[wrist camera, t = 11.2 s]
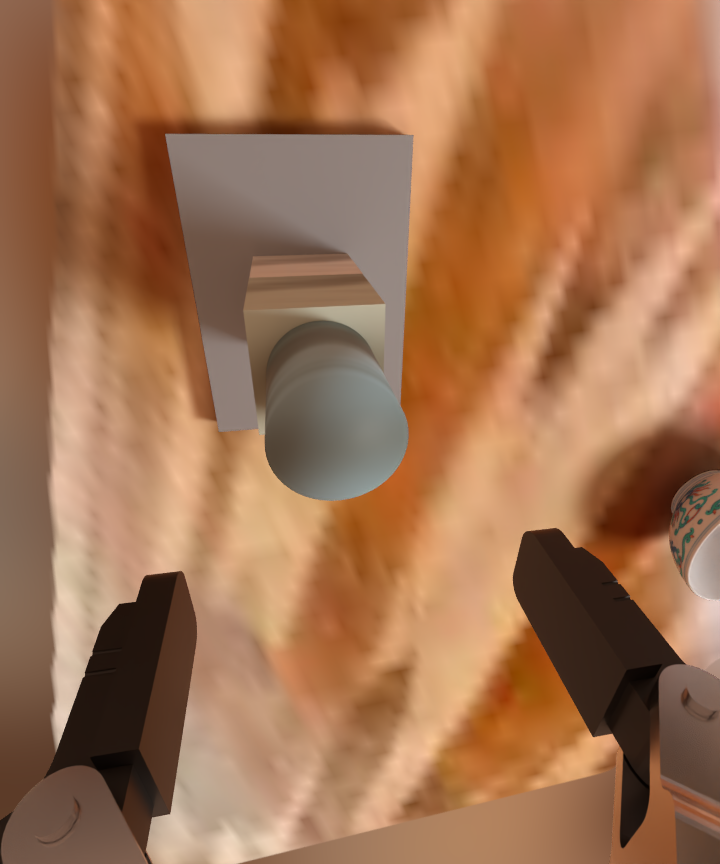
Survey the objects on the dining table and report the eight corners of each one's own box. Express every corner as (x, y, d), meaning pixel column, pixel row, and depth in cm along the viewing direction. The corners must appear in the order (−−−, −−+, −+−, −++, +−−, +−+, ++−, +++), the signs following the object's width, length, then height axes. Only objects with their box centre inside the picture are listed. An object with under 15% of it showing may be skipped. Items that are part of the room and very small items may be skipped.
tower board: (169, 134, 27) (165, 133, 26) (407, 135, 29) (413, 135, 27) (220, 422, 37) (218, 432, 35) (395, 408, 38) (399, 417, 37)
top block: (248, 277, 24) (243, 310, 19) (362, 273, 25) (385, 303, 20) (261, 382, 27) (259, 434, 22) (362, 375, 28) (382, 424, 23)
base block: (253, 256, 29) (249, 277, 24) (347, 253, 30) (362, 273, 25) (263, 346, 32) (261, 382, 27) (348, 342, 33) (362, 375, 28)
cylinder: (260, 323, 20) (256, 382, 15) (376, 317, 20) (412, 372, 15) (271, 426, 22) (272, 507, 17) (375, 418, 23) (404, 493, 18)
